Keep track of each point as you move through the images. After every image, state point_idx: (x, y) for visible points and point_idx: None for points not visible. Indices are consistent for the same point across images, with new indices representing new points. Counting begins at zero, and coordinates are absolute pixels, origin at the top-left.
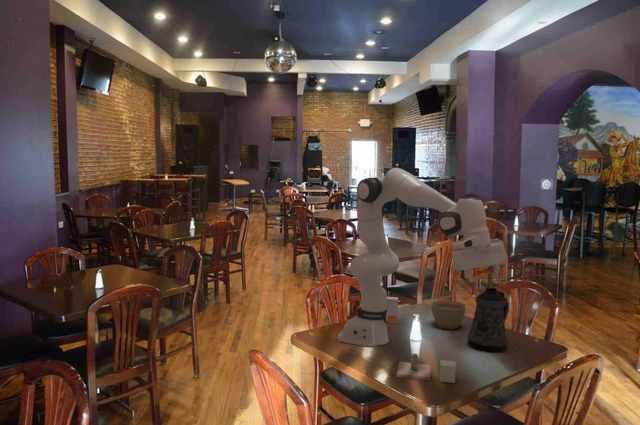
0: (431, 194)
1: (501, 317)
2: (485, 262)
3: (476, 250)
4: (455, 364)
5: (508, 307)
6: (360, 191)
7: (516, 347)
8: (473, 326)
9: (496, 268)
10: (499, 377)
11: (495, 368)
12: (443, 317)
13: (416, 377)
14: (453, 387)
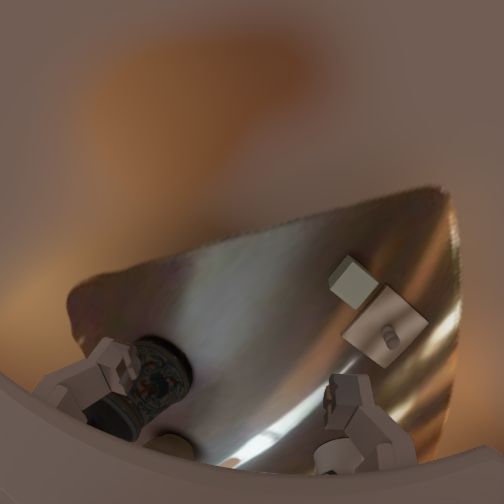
0: None
1: None
2: (156, 494)
3: None
4: (342, 274)
5: None
6: None
7: (119, 337)
8: (170, 400)
9: (69, 392)
10: (236, 243)
11: (212, 282)
12: (186, 455)
13: (404, 300)
14: (364, 238)
